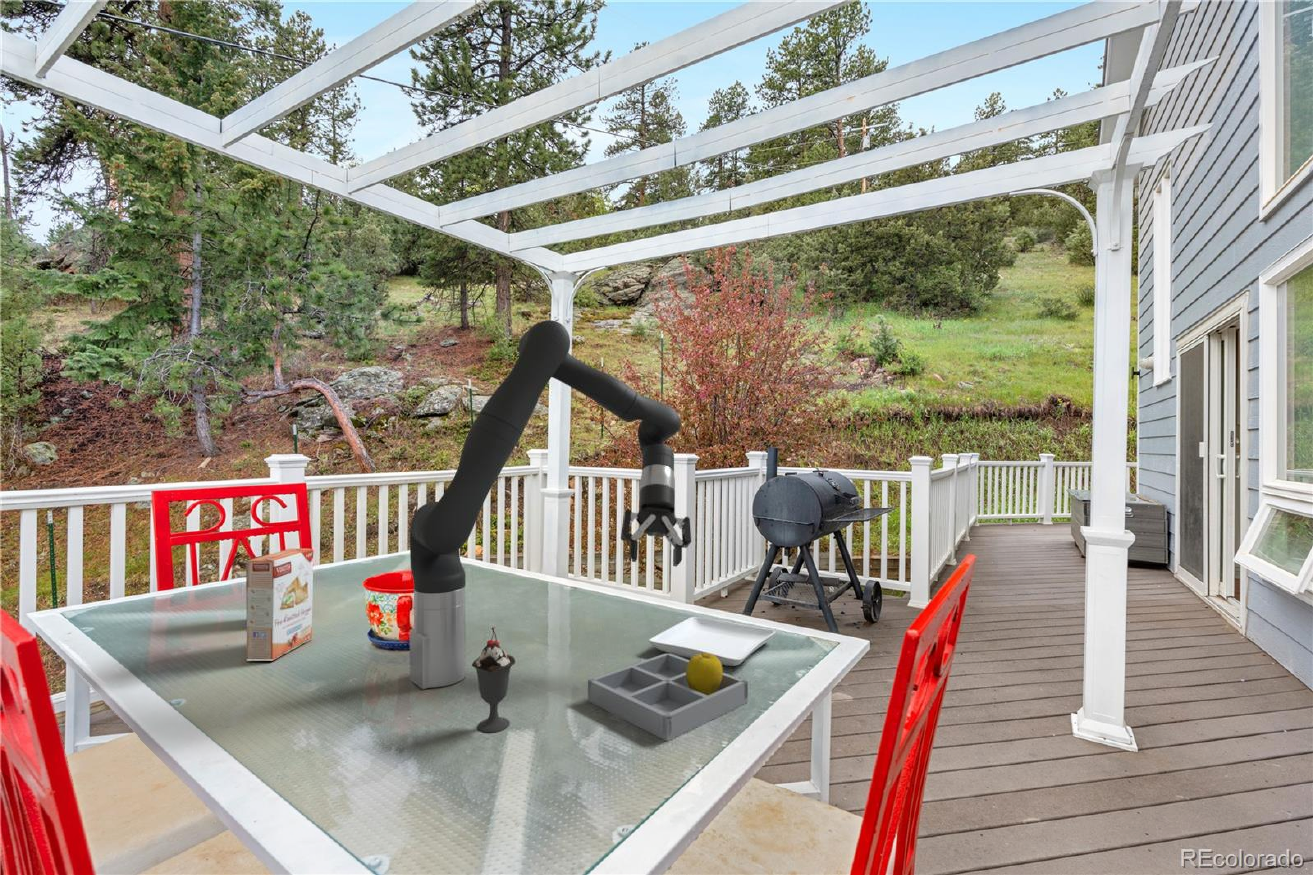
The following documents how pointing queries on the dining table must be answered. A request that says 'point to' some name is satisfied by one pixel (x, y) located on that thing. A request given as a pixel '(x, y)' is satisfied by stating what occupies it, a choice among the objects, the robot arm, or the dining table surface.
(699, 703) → the tray
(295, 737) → the dining table surface
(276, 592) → the cracker box
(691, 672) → the apple
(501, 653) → the sundae
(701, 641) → the salad plate
